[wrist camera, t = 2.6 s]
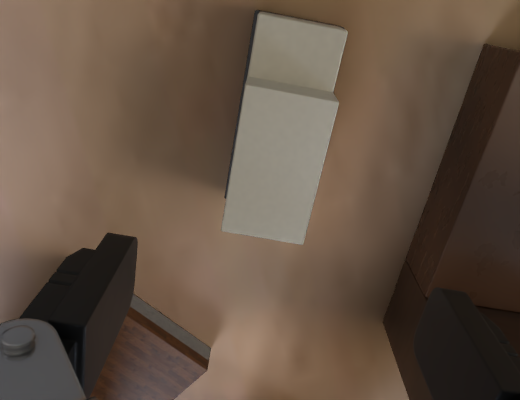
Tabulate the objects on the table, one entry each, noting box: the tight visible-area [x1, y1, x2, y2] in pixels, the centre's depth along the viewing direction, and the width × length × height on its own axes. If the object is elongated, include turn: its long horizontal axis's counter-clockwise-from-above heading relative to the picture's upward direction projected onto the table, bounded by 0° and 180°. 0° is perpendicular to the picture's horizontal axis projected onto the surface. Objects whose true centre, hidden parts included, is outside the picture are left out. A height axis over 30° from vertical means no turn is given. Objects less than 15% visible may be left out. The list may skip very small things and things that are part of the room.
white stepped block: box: [221, 10, 348, 245], centre depth 22 cm, size 10×4×6 cm, turn 170°
